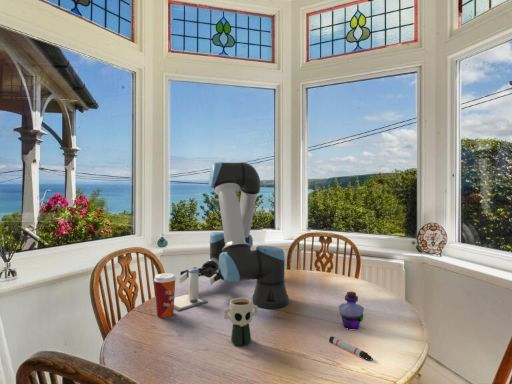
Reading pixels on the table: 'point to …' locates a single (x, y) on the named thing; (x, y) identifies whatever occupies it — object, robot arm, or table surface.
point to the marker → (349, 347)
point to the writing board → (186, 302)
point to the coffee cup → (165, 294)
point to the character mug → (240, 319)
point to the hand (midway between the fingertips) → (195, 280)
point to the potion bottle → (351, 311)
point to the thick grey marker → (193, 285)
